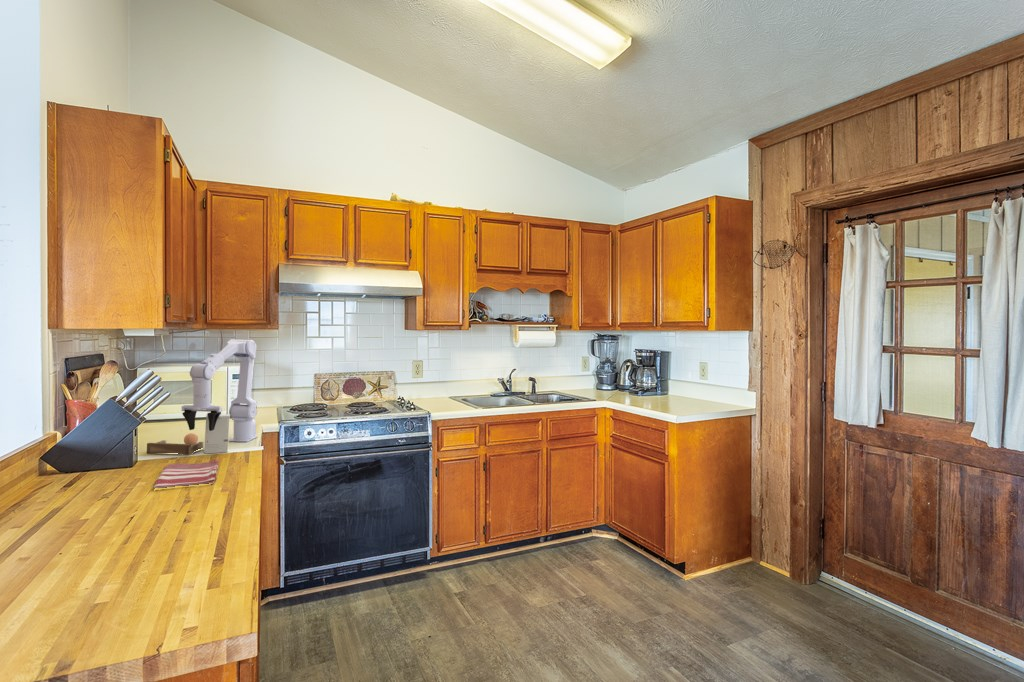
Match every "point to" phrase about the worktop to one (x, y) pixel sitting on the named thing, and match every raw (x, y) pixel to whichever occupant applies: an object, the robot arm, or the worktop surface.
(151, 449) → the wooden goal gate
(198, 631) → the worktop surface
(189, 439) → the ball
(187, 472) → the dish towel
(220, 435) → the skincare box
